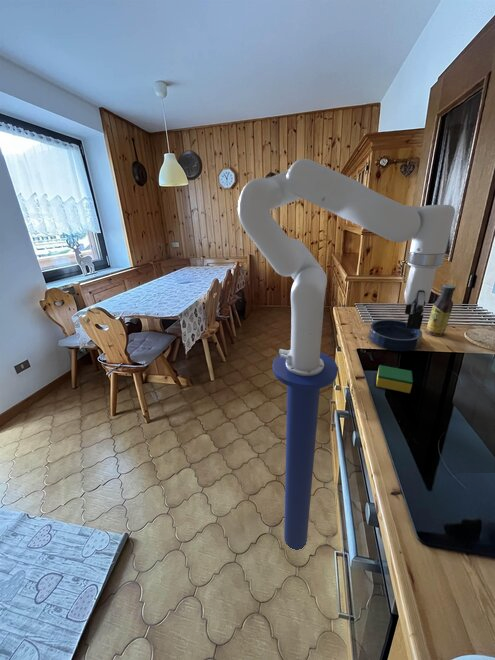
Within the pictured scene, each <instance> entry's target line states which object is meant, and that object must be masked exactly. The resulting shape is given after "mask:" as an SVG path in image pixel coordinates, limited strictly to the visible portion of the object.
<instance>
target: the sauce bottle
mask: <svg viewBox="0 0 495 660" xmlns="http://www.w3.org/2000/svg"><path fill="white" fill-rule="evenodd" d="M456 288H457V287H456V286H455V285H453V284H447V283H446V284H443V285H442V286H441V291H440V294H439V297H438V298H437V299H436V300H435V302H434V303H433V305H432V308H431V311H430V314H429V317H428V318H429V319H428V322H427V325H426V333H427V334H429V335H431V336H436V337H441V336H443V335H444V334H445V332H446V330H447V326H448V323H449V320H450V317H451V314H452V311H453V307H454V301H453V295H454V293H455V291H456Z"/></svg>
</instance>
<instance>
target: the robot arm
mask: <svg viewBox="0 0 495 660" xmlns="http://www.w3.org/2000/svg"><path fill="white" fill-rule="evenodd" d="M298 200H303V201H306V202H307V203H310V204H313V205H315V206H316V207H317V206H318V207H320V208H322V209H324V210H326V211H327V212H330V213H332V214H334V215H336V216H338V217H340V218H341V219H344V220H346V221H347V222H351V223H353V224H355V225H357V226H359V227H360V228H363V229H365V230H366V231H369V232H371V233H373V234H375V235H377V236H380V237H381V238H383V239H386V240H388V241H390V242H394V243H404V242H407V241H409V240H411V243H410V249H409V253H408V257H407V258H408V259H407V265H408V266H410V268H409V272H408V276H407V281H406V285H405V289H404V295H403V296H404V303H405V310H404V315H407V320H406V322H407V325H406V327H407V328H411V329H420V330H421V327H422V323H423V320H424V312H425V307H427V306H428V304H429V300H430V297H431V293H432V289H433V285H434V280H435V275H436V271H437V268H442V266H443V263H444V259H445V255H446V251H447V247H448V242H449V239H450V236H451V235H450V234H451V232H452V231H451V230H452V226H453V222H454V219H455V215H456V209H455V207H454V206H453V205H450V204H430V205H429V204H428V205H423V206H417V205H416V206H415V205H404V204H402V203H401V202H398V201H396V200H393V199H391V198H389V197H387V196H385V195H383V194H381V193H379V192H377V191H375V190H373V189H371V188H369V187H368V186H366V185H364V184H363V183H362V182H360V181H358V180H356V179H354V178H352V177H349V176H348V175H345V174H342V173H341V172H339V171H336V170H334V169H332V168H329V167H328V166H325V165H323V164H320V163H319V162H316V161H314V160H312V159H309V158H299V159H297V160H295V161H294V162H293V163H292V164H291V165H290V167H289V168H288V169H287V170H284V171H282V172H280V173H277V174H274V175H273V176H269V177H268V178H267V177H257V178H253V179H251V180H250V181H247V183H246V184H245V185H244V187H243V188H242V190H241V192H240V195H239V198H238V202H237V203H238V204H237V213H238V218H239V222H240V225H241V226H242V229H243V230H244V231H245V233H246V234H247V236H248V237H249V238H250V240H251V241H252V242H253V243H254V245H255V247H257V249H258V250H259V252H260V253H261V254H262V256H263V257H264V259H266V261H267V262H268V264H269V265H270V266H271V267H272V269H273V270H274V271H275V272H276V274H278V275H279V276H281V277H285V278H287V277H288V278H289V277H291V278H292V280H293V283H292V285H291V290H290V308H291V309H290V310H291V315H290V316H291V318H290V319H291V321H290V322H291V323H290V326H291V327H290V332H291V333H290V349H288V350H287V349H284V348H283V349H282V348H279V350H278V355H280V354H281V355H280V358H285V359H287V360H286V367H287V369H288V370H289V371H291V372H292V373H294V374H297V375H301V376H313V375H316V374H319V373H320V372H321V371H322V370H323V369H324V362H323V361H322V359H320V352H321V348H322V347H321V346H322V335H323V319H324V308H325V307H324V306H325V299H326V297H325V296H326V290H327V283H328V278H327V277H328V276H327V274H326V272H325V271H324V269H323V267H322V266H321V265H320V263H319V262H318V261H317V259H316V258H315V256H314V255H313V254H312V252H311V251H310V250H309V248H308V247H307V246H306V245H305V244H304V242H302V241H301V240H300V239H297V238H291V237H290V238H289V236H288V234H287V233H286V232H285V231H284V230H283V227H282V226H281V225H280V224H279V223H278V222H277V221H276V219H274V218H273V216H272V213H271V211H274V210H275V209H279V208H281V207H283V206H286V205H288V204H289V205H290V204H291V203H293V202H296V201H298Z"/></svg>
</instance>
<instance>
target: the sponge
mask: <svg viewBox="0 0 495 660" xmlns="http://www.w3.org/2000/svg"><path fill="white" fill-rule="evenodd" d="M375 383H376V385H375V386H376V387H378V388H383V389H387V390H392V391H397V392H402V393H407V394H411V392H412V391H411V390H412V388H413V384H414V379H413V371H412V370H408V369H403V368H397V367H393V366H392V367H391V366H388V365H383V364H379V365H378V369H377V375H376V382H375Z"/></svg>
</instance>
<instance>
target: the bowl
mask: <svg viewBox="0 0 495 660" xmlns="http://www.w3.org/2000/svg"><path fill="white" fill-rule="evenodd" d="M406 325H407V321H402V320H398V319H378V320H376V321H373V322H372V323H371V324H370V326H369V333H368V338H369V340H370V342H371V343H372V344H374V345H376V346H377V347H379V348H382V349H385V350H387V351H393V352H409V351H414V350H416V349H418V348H419V347H420V345H421V341H422V337H423V331H422V330H421V328H420V329H411V328H407V327H406Z"/></svg>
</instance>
